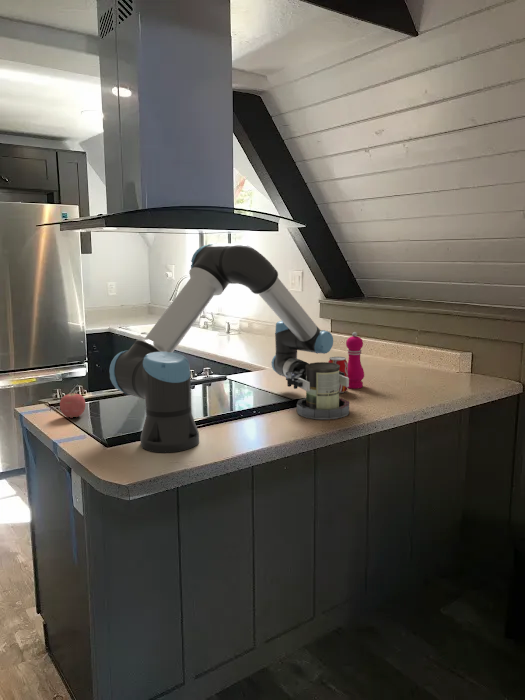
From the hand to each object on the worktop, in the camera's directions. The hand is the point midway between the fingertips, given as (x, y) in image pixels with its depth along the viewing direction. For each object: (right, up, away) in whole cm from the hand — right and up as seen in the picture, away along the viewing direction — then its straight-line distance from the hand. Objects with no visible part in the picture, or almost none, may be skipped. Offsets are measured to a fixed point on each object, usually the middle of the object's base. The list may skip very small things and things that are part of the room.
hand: (328, 384), depth 172 cm
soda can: (+7, -4, +30) cm, 31 cm away
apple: (-78, -10, +4) cm, 78 cm away
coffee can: (-1, -8, +5) cm, 10 cm away
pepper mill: (+13, -3, +37) cm, 39 cm away
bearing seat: (-1, -9, +5) cm, 10 cm away
